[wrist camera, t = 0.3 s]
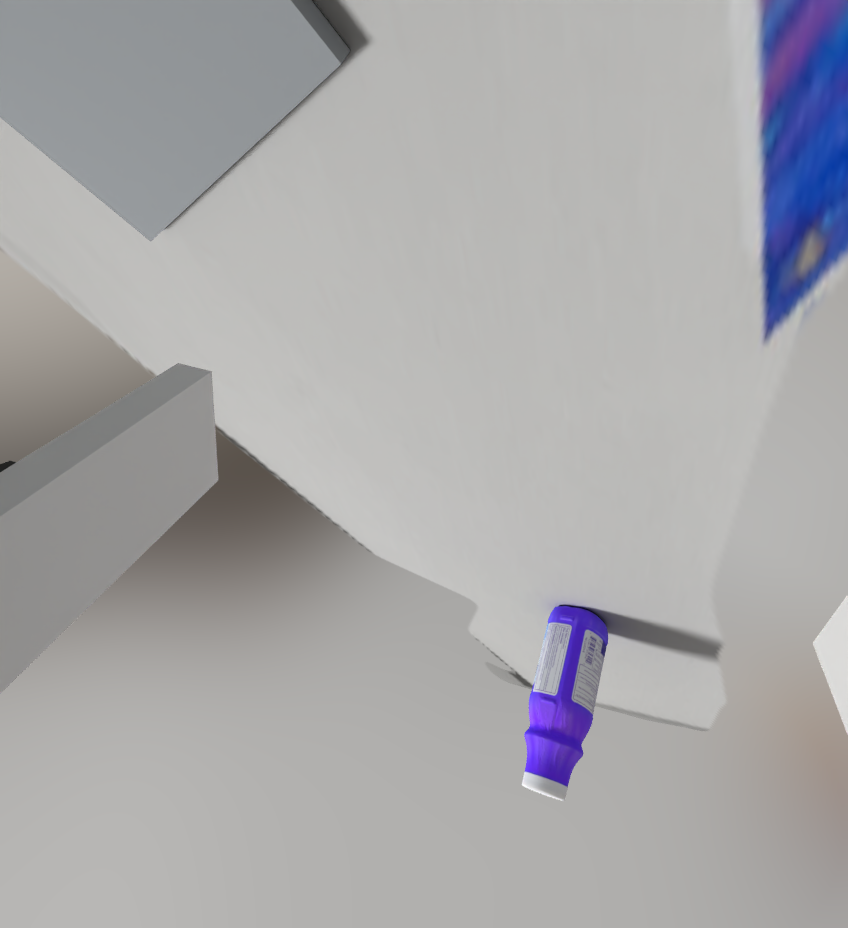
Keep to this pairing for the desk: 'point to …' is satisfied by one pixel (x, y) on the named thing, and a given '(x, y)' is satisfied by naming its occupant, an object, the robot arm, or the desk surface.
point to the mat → (157, 89)
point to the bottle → (563, 698)
